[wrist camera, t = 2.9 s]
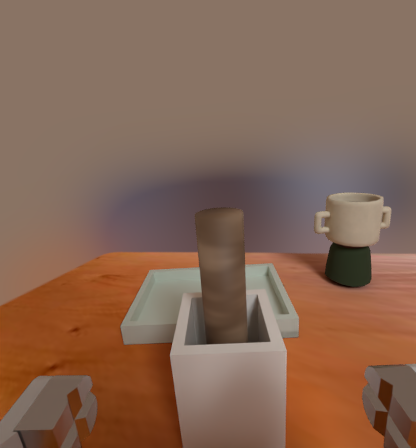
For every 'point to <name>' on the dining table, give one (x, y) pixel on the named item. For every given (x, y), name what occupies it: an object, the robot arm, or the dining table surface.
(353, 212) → the character mug
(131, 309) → the sage tray
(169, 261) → the dining table surface
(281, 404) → the white square sleeve
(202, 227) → the walnut pin
